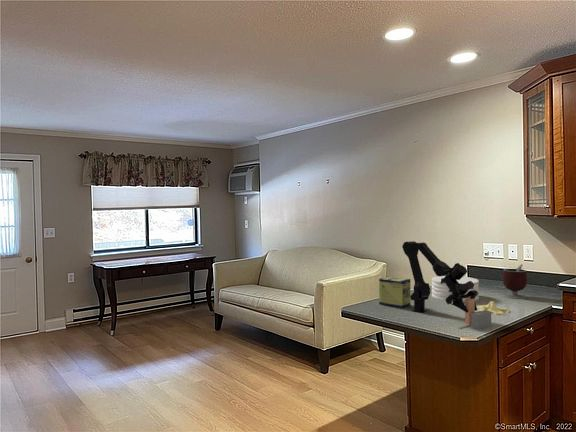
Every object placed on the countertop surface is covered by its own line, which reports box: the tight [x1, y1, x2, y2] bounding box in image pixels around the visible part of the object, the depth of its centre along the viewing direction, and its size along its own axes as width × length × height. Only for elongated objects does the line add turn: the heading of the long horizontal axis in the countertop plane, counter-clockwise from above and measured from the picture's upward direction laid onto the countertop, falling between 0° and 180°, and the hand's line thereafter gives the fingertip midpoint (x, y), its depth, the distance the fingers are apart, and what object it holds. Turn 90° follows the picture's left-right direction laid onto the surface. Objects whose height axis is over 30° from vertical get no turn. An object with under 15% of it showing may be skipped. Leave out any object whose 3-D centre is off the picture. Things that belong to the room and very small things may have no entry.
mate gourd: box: [502, 264, 528, 300], centre depth 278 cm, size 16×14×20 cm
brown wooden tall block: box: [464, 298, 476, 325], centre depth 216 cm, size 2×4×12 cm, turn 120°
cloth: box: [476, 300, 510, 316], centre depth 242 cm, size 22×19×6 cm
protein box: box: [378, 276, 412, 309], centre depth 260 cm, size 10×16×16 cm
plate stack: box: [431, 275, 480, 303], centre depth 280 cm, size 28×28×12 cm
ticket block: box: [457, 310, 492, 330], centre depth 210 cm, size 6×17×7 cm, turn 120°
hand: (472, 311), depth 215 cm, fingers open, 6 cm apart
